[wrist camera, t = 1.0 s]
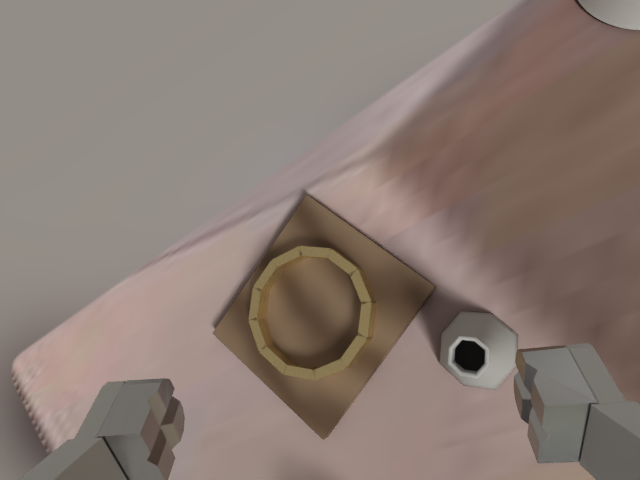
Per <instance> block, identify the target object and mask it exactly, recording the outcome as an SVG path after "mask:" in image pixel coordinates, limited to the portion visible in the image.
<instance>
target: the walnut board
mask: <svg viewBox="0 0 640 480" xmlns="http://www.w3.org/2000/svg"><path fill="white" fill-rule="evenodd" d="M298 246H309V247H321V248H331V249H334V250H336V251H339V252H340V253H341V254H343V255H344V256H345V257H347V258H348V259H349V260H351V261H352V262H353V263H355V264H356V265H357V266H359V267H360V268H361V269H363V271H364V272H365V275H366V277H367V279H368V282H369V284H370V287H371V289H372V291H373V294H374V296H375V299H376V301H377V302H375V303H377V308H376V317H375V326H374V335H373V337H372V338H373V339H372V340H371V342H370V343H369V344H368V346H367V347H366V349H365V350H364V351H363V353H362V354H361V355H360V357H359V358H358V360H357V361H356V362H355V364H354V365H353V366H352V367H349V368H347V369H345V370H342V371H340V372H337V373H335V374H332V375H330V376H328V377H325V378H323V379H319V380H315V381H314V380H308V379H303V378H298V377H293V376H288V375H284V374H282V373H281V372H280V371H279V370H278V369H277V368H276V367H274V366H273V365H272V364H271V363H270V362H269V361H268V360H267V359H266V358H265V357H264V356H263V355H262V354H261V353H259V352H260V351H258V348H257V345H256V342H255V339H254V336H253V333H252V330H251V327H250V324H249V320H248V319H249V312H250V304H251V297H252V290H253V288H254V287H253V286H254V285H255V283H256V282H257V280H258V279H259V277H260V276H261V274H262V273H263V271H264V270H265V268H266V267H267V266H268V264H269V263H270V261H272V259H274V258H276V257H278V256H280V255H282V254H284V253H286V252H288V251H290V250H292V249H294V248H296V247H298ZM435 289H436V286H434V285H433V284H432V283H430V282H429V281H427V280H426V279H425V278H423V277H422V276H420V275H419V274H418V273H416V272H415V271H413V270H412V269H411V268H409V267H408V266H406V265H405V264H404V263H402V262H401V261H399V260H398V259H397V258H395V257H394V256H393V255H391V254H390V253H388V252H387V251H386V250H384V249H383V248H381V247H380V246H379V245H377V244H376V243H374V242H373V241H372V240H370V239H369V238H367V237H366V236H365V235H363V234H362V233H360V232H359V231H358V230H356V229H355V228H353V227H352V226H351V225H349V224H348V223H346V222H345V221H344V220H342V219H341V218H339V217H338V216H337V215H335V214H334V213H332V212H331V211H330V210H328V209H327V208H325V207H324V206H323V205H321V204H320V203H318V202H317V201H316V200H314V199H313V198H311V197H310V196H308V195H306V197H305V198H304V200H303V201H302V203H301V204H300V205H299V207H298V208H297V210H296V211H295V213H294V214H293V216H292V217H291V219H290V220H289V222H288V223H287V225H286V226H285V228H284V229H283V230H282V232H281V233H280V235H279V236H278V238H277V239H276V241H275V242H274V244H273V245H272V247H271V248H270V250H269V251H268V252H267V254H266V255H265V257H264V258H263V260H262V261H261V263H260V264H259V266H258V267H257V269H256V270H255V272H254V273H253V274H252V276H251V277H250V279H249V280H248V282H247V283H246V285H245V286H244V288H243V289H242V291H241V292H240V294H239V295H238V297H237V298H236V299H235V301H234V302H233V304H232V305H231V307H230V308H229V310H228V311H227V313H226V314H225V316H224V317H223V319H222V320H221V321H220V323H219V324H218V326H217V327H216V329H215V330H214V332H213V334H214V335H215V336H216V337H217V338H218V339H219V340H220V341H221V342H222V343H223V344H224V345H225V346H226V347H227V348H228V349H229V350H230V351H231V352H233V353H234V354H235V355H236V356H237V357H238V358H239V359H240V360H241V361H242V362H243V363H244V364H245V365H246V366H247V367H248V368H249V369H250V370H251V371H252V372H253V373H254V374H255V375H256V376H257V377H258V378H260V379H261V380H262V381H263V382H264V383H265V384H266V385H267V386H268V387H269V388H270V389H271V390H272V391H273V392H274V393H275V394H276V395H277V396H278V397H279V398H280V399H281V400H282V401H283V402H284V403H285V404H287V405H288V406H289V407H290V408H291V409H292V410H293V411H294V412H295V413H296V414H297V415H298V416H299V417H300V418H301V419H302V420H303V421H304V422H305V423H306V424H307V425H308V426H309V427H310V428H311V429H312V430H314V431H315V432H316V433H317V434H318V435H319V436H320V437H321V438H322V439H325V438H327V437H328V436H329V434H330V433H331V431H332V430H333V429H334V427H335V426H336V425H337V423H338V422H339V420H340V419H341V418H342V416H343V415H344V414H345V412H346V411H347V409H348V408H349V407H350V405H351V404H352V403H353V401H354V400H355V398H356V397H357V396H358V394H359V393H360V392H361V390H362V389H363V387H364V386H365V385H366V383H367V382H368V381H369V379H370V378H371V376H372V375H373V374H374V372H375V371H376V370H377V368H378V367H379V365H380V364H381V363H382V361H383V360H384V359H385V357H386V356H387V355H388V353H389V352H390V350H391V349H392V348H393V346H394V345H395V344H396V342H397V341H398V339H399V338H400V337H401V335H402V334H403V333H404V331H405V330H406V328H407V327H408V326H409V324H410V323H411V322H412V320H413V319H414V317H415V316H416V315H417V313H418V312H419V311H420V309H421V308H422V306H423V305H424V304H425V302H426V301H427V300H428V298H429V297H430V295H431V294H432V293H433V291H434V290H435ZM360 311H361V301H360V299H359V296H358V294H357V291H356V289H355V286H354V284H353V281H352V279H351V276H350V275H349V274H348V273H347V272H345V271H344V270H343V269H341V268H340V267H339V266H337V265H336V264H335V263H333V262H332V261H331V260H328V259H317V258H306V259H304V260H302V261H300V262H298V263H296V264H294V265H292V266H290V267H288V268H286V269H285V270H284V271H283V273H282V274H281V275H280V277H279V278H278V280H277V281H276V283H275V284H274V286H273V287H272V289H271V290H270V291H269V299H268V306H267V314H266V321H267V324H268V327H269V330H270V333H271V335H272V338H273V341H274V344H275V346H276V347H277V348H279V349H280V350H281V351H282V352H283V353H284V354H285V355H286V356H287V357H288V358H290V359H291V360H292V361H293V362H294V363H296V364H301V365H307V366H312V367H317V368H320V367H322V366H325V365H327V364H329V363H332V362H334V361H337V360H339V359H341V357H342V356H343V354H344V353H345V352H346V350H347V349H348V347H349V346H350V345H351V343H352V342H353V340H354V339H355V338H356V336H357V335H358V329H359V320H360Z"/></svg>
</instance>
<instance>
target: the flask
mask: <svg viewBox="0 0 640 480" xmlns="http://www.w3.org/2000/svg"><path fill="white" fill-rule="evenodd" d="M517 348H518V334H516V333H515V332H514V331H513V330H512V329H510V328H509V327H508V326H507V325H505V324H504V323H503V322H502V321H501V320H499V319H498V318H497V317H496V316H495V315H493V314H490V313H478V312H466V311H460V313H459V314H458V315H457V316H456V317H455V318H454V319H453V321H452V322H451V323H450V324H449V325H448V326H447V327H446V329H445V330H444V331H443V332H442V333H441V348H440V364H441V365H442V366H443V367H444V368H445V369H446V370H447V371H448V372H449V373H451V374H452V375H453V376H454V377H455V378H456V379H457V380H458V381H459V382H460V383H462V384H463V385H465V386H472V387H480V388H487V389H494V390H496V389H497V388H498V387H499V386H500V385H501V384H502V382H503V381H504V380H505V379H506V378H507V377H508V376H509V375H510V374H511V373H512V371H513V370H514V369H515V368H516V367H517V366H516V363H515V358H516V352H517Z"/></svg>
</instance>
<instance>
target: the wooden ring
mask: <svg viewBox="0 0 640 480" xmlns="http://www.w3.org/2000/svg"><path fill="white" fill-rule="evenodd" d="M306 258H317V259H328V260H331V261H332V262H333V263H335V264H336V265H337V266H339V267H340V268H341V269H343V270H344V271H345V272H347V273H348V274H349V275H350V276H351V279H352V281H353V284H354V286H355V289H356V291H357V294H358V296H359V299H360V301H361V311H360V320H359V329H358V335H357V336H356V338H355V339H354V340H353V342H352V343H351V345H350V346H349V347H348V349H347V350H346V352H345V353H344V354H343V356H342V357H341V359H339V360H337V361H334V362H332V363H329V364H327V365H325V366H322V367H320V368H317V367H312V366H307V365H301V364H296V363H294V362H293V361H292V360H291V359H290V358H288V357H287V356H286V355H285V354H284V353H283V352H282V351H281V350H280V349H279V348H277V347H276V346H275V344H274V341H273V338H272V335H271V333H270V330H269V327H268V324H267V321H266V314H267V306H268V299H269V291H270V290H271V289H272V287H273V286H274V284H275V283H276V281H277V280H278V278H279V277H280V275H281V274H282V273H283V271H284V270H285V269H286V268H288V267H290V266H292V265H294V264H296V263H298V262H300V261H302V260H304V259H306ZM253 287H254V288H253V290H252V297H251V304H250V312H249V319H248V320H249V324H250V327H251V330H252V333H253V336H254V339H255V342H256V345H257V348H258V351H260V352H259V353H261V354H262V355H263V356H264V357H265V358H266V359H267V360H268V361H269V362H270V363H271V364H272V365H273V366H274V367H276V368H277V369H278V370H279V371H280V372H281V373H282V374H284V375H288V376H293V377H298V378H303V379H308V380H314V381H315V380H319V379H323V378H325V377H328V376H330V375H332V374H335V373H337V372H340V371H342V370H345V369H347V368H349V367H352V366H353V365H354V364H355V362H356V361H357V360H358V358H359V357H360V355H361V354H362V353H363V351H364V350H365V349H366V347H367V346H368V344H369V343H370V342H371V340H372V339H373V338H372V337H373V335H374V326H375V317H376V308H377V303H375V302H377V301H376V299H375V296H374V294H373V291H372V289H371V287H370V284H369V282H368V279H367V277H366V275H365V272H364V271H363V269H361V268H360V267H359V266H357V265H356V264H355V263H353V262H352V261H351V260H349V259H348V258H347V257H345V256H344V255H343V254H341V253H340V252H339V251H336V250H334V249H331V248H321V247H309V246H298V247H296V248H294V249H292V250H290V251H288V252H286V253H284V254H282V255H280V256H278V257H276V258H274V259H272V261H270V263H269V264H268V266H267V267H266V268H265V270H264V271H263V273H262V274H261V276H260V277H259V279H258V280H257V282H256V283H255V285H254V286H253Z"/></svg>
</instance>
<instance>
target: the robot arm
mask: <svg viewBox="0 0 640 480" xmlns="http://www.w3.org/2000/svg"><path fill="white" fill-rule="evenodd" d="M578 2H579V3H580V4H581V6H582V7H583V8H584V9H585V10H586V11H587V12H589V13H590V14H591V15H593V16H594V17H596V18H597V19H599V20H601V21H603V22H605V23H607V24H610V25H613V26H616V27H620V28H625V29H632V30H640V0H578ZM515 363H516V366H517V368H518V371H519V372H518V373H517V374H516V375H515V376H514V394H515V400H516V404H517V408H518V411H519V414H520V417H521V419H522V420H524V421H525V422H526V423H528V424H529V425H528V439H529V441H530V444H531V447H532V449H533V452H534V454H535V457H536V460H537V462H538V463H560V462H580V465H581V466H582V467H583V468H584V469H585V470H587V471H588V472H589V473H590V474H591V475H592V476H593V477H594V478H595V479H596V480H640V405H639V404H638V403H636V402H634V401H632V402H627V401H626V400H625V398H624V396H623V395H622V393H621V391H620V390H619V388H618V387H617V385H616V383H615V382H614V380H613V378H612V377H611V375H610V374H609V372H608V370H607V369H606V367H605V365H604V364H603V362H602V361H601V359H600V357H599V356H598V354H597V352H596V351H595V349H594V348H593V346H592V345H590V344H589V343H585V344H574V345H565V346H551V347H540V348H529V349H518V350H517V352H516V358H515ZM173 391H174V387H173V385H172V383H171V381H170V379H147V380H128V381H117V382H107V383H106V384H105V385H104V386H103V387H102V388H101V390H100V392H99V394H98V396H97V398H96V399H95V401H94V403H93V405H92V407H91V409H90V411H89V412H88V414H87V416H86V418H85V420H84V422H83V424H82V426H81V427H80V429H79V431H78V433H77V435H76V437H75V439H71V440H67V441H66V442H65V443H64V444H62V445H61V446H60V447H59V448H57V449H56V450H55V451H54V452H53V453H51V454H50V455H49V456H48V457H46V458H45V459H44V460H43V461H42V462H40V463H39V464H38V465H37V466H35V467H34V468H33V469H32V470H31V471H29V472H28V473H27V474H26V475H24V476H23V477H22V478H21V479H19V480H168V478H169V475H170V472H171V469H172V466H173V463H174V460H175V456H174V454H173V452H172V449H173V448H174V447H175V446H176V445H177V444H178V443H179V442H180V441H181V438H182V434H183V431H184V419H185V417H184V411H183V407H182V405H181V402H180V401H179V400H177V399H176V398H174V397H173V396H172V394H173Z"/></svg>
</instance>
